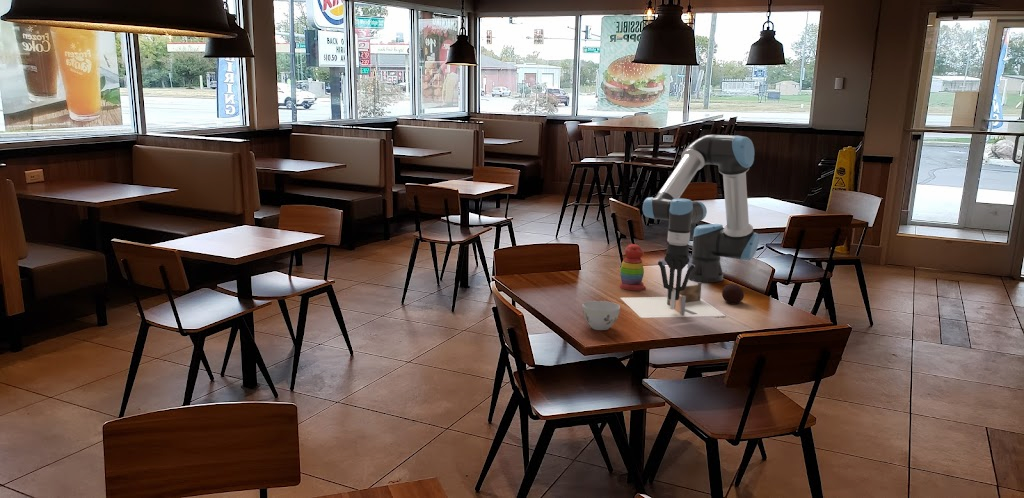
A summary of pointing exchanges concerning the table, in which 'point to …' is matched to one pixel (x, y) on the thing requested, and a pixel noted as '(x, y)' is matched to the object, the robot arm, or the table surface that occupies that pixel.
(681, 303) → the fence panel
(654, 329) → the table surface
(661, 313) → the board
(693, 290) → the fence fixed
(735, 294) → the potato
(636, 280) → the stacking bear
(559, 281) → the table surface
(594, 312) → the teacup
